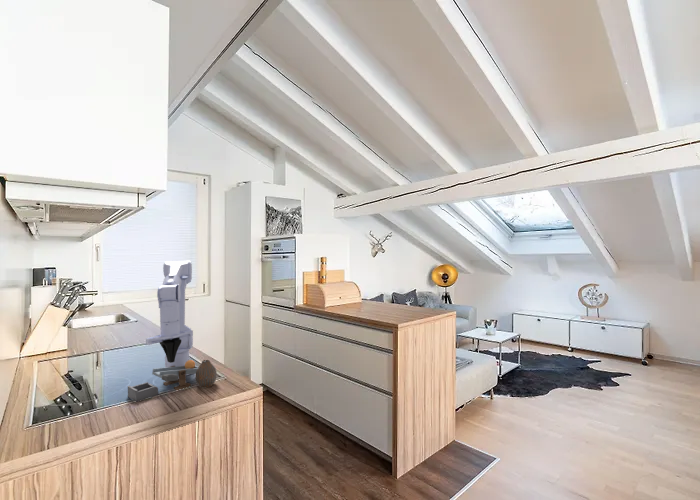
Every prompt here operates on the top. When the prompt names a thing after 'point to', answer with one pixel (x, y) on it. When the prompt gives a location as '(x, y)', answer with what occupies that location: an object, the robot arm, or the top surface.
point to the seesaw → (172, 372)
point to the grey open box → (142, 391)
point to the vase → (206, 374)
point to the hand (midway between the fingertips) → (171, 361)
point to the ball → (189, 364)
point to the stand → (179, 380)
